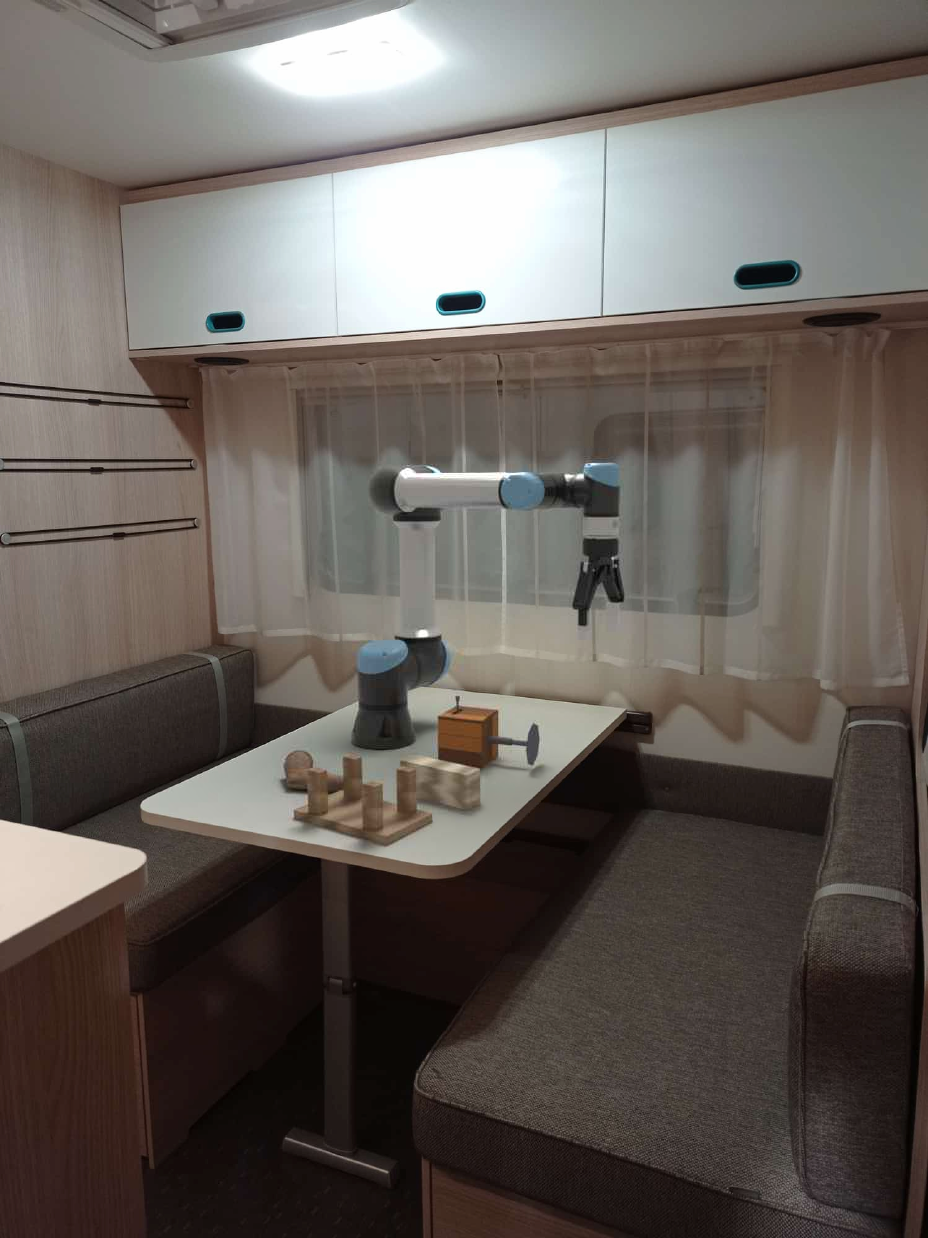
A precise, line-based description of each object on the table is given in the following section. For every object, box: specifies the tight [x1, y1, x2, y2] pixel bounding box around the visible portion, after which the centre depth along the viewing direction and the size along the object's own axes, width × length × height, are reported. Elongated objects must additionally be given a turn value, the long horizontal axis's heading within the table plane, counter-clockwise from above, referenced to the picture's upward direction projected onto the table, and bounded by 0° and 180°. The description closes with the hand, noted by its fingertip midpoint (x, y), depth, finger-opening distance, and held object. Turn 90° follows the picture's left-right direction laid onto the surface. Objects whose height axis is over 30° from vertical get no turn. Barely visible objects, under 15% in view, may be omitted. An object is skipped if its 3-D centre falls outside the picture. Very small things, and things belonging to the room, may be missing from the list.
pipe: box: [283, 749, 344, 794], centre depth 181 cm, size 6×17×10 cm
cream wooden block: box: [399, 754, 481, 811], centre depth 174 cm, size 16×4×7 cm, turn 55°
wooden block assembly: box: [293, 753, 433, 846], centre depth 162 cm, size 22×13×10 cm, turn 55°
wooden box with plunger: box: [437, 695, 541, 771], centre depth 195 cm, size 11×20×14 cm, turn 67°
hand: (598, 636), depth 192 cm, fingers open, 13 cm apart
